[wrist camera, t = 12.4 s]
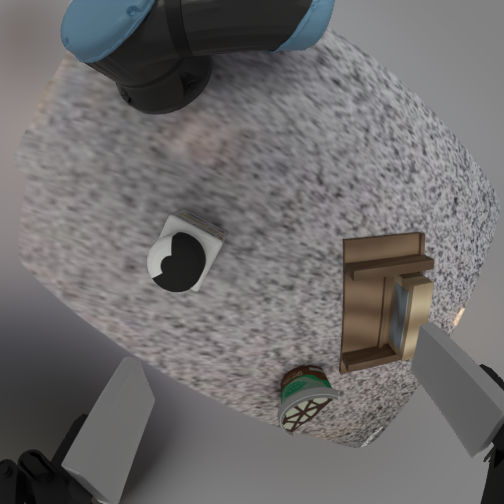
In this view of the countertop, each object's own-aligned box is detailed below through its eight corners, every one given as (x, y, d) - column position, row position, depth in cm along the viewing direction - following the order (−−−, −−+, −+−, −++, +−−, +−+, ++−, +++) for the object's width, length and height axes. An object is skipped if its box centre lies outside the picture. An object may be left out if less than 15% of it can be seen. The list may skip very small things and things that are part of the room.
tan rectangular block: (392, 271, 43) (413, 286, 36) (412, 268, 42) (434, 282, 36) (385, 341, 46) (400, 361, 39) (404, 336, 46) (420, 355, 39)
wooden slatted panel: (343, 239, 42) (354, 246, 37) (419, 232, 42) (435, 237, 37) (339, 370, 49) (346, 386, 44) (405, 355, 48) (415, 368, 44)
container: (228, 231, 42) (219, 253, 29) (205, 274, 43) (188, 311, 31) (183, 207, 41) (155, 219, 28) (162, 251, 42) (130, 279, 30)
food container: (303, 349, 47) (313, 385, 37) (327, 363, 48) (340, 398, 38) (261, 390, 50) (263, 427, 40) (285, 401, 51) (290, 437, 41)
